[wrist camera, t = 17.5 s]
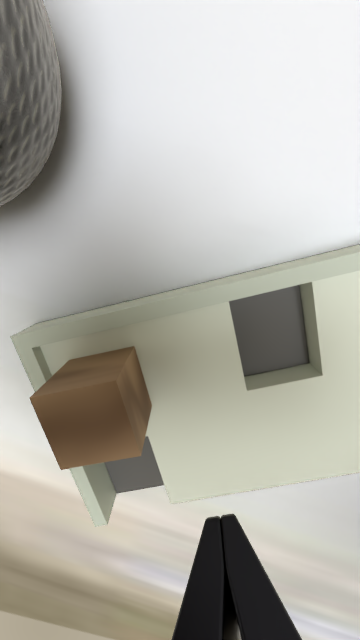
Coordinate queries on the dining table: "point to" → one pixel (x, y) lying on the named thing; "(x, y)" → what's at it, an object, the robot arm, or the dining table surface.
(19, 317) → the dining table surface
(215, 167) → the dining table surface
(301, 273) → the trap tray
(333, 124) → the dining table surface
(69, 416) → the block
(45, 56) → the planter
